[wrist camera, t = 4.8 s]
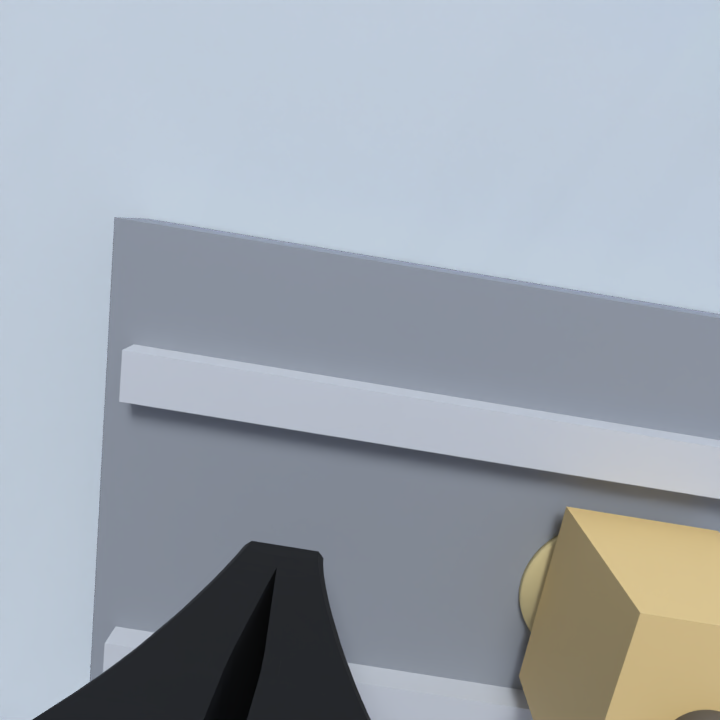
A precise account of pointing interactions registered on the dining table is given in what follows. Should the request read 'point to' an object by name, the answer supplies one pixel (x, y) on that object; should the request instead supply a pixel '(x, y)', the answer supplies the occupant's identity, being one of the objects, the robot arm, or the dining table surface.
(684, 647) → the slider
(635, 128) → the dining table surface
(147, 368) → the gauge plate
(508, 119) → the dining table surface
